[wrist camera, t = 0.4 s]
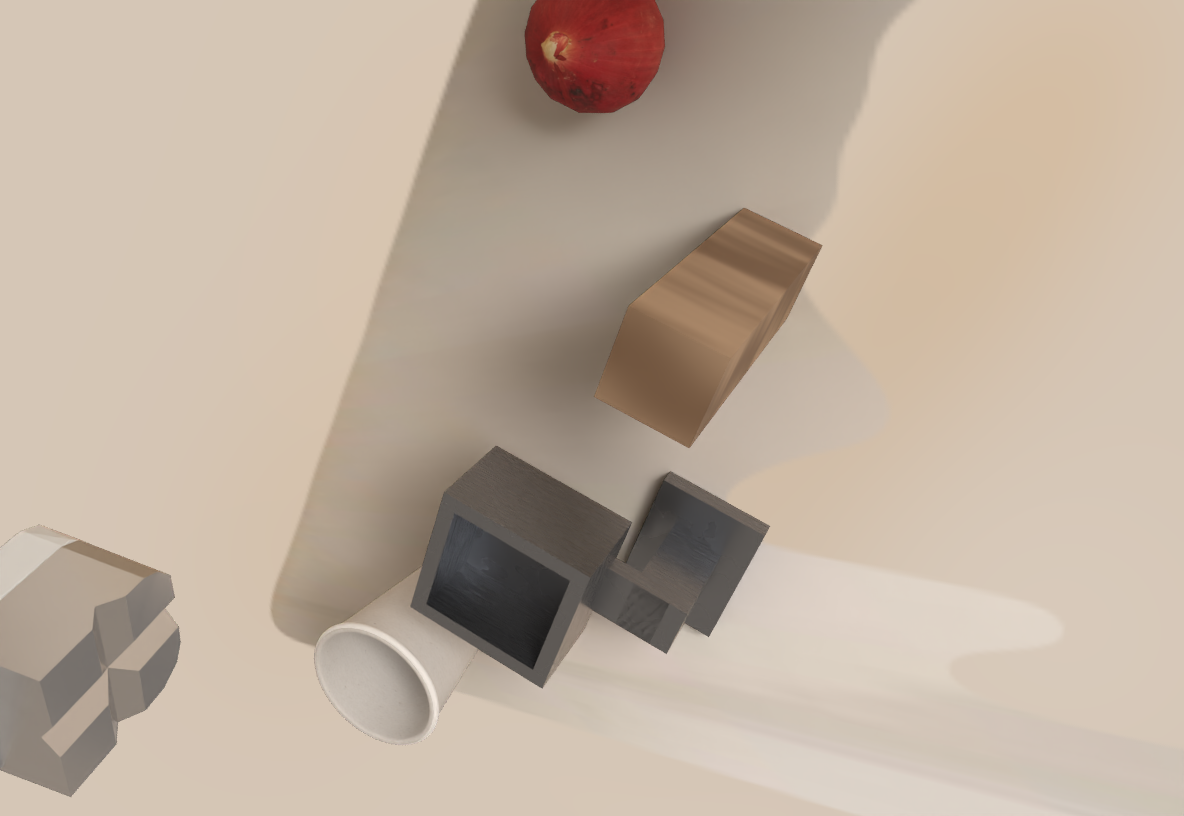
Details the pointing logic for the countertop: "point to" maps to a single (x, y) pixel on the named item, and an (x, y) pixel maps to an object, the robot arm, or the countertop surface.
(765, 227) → the rail post
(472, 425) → the countertop surface
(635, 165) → the countertop surface
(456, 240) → the countertop surface
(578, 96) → the onion
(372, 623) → the dixie cup
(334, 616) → the countertop surface
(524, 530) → the box
